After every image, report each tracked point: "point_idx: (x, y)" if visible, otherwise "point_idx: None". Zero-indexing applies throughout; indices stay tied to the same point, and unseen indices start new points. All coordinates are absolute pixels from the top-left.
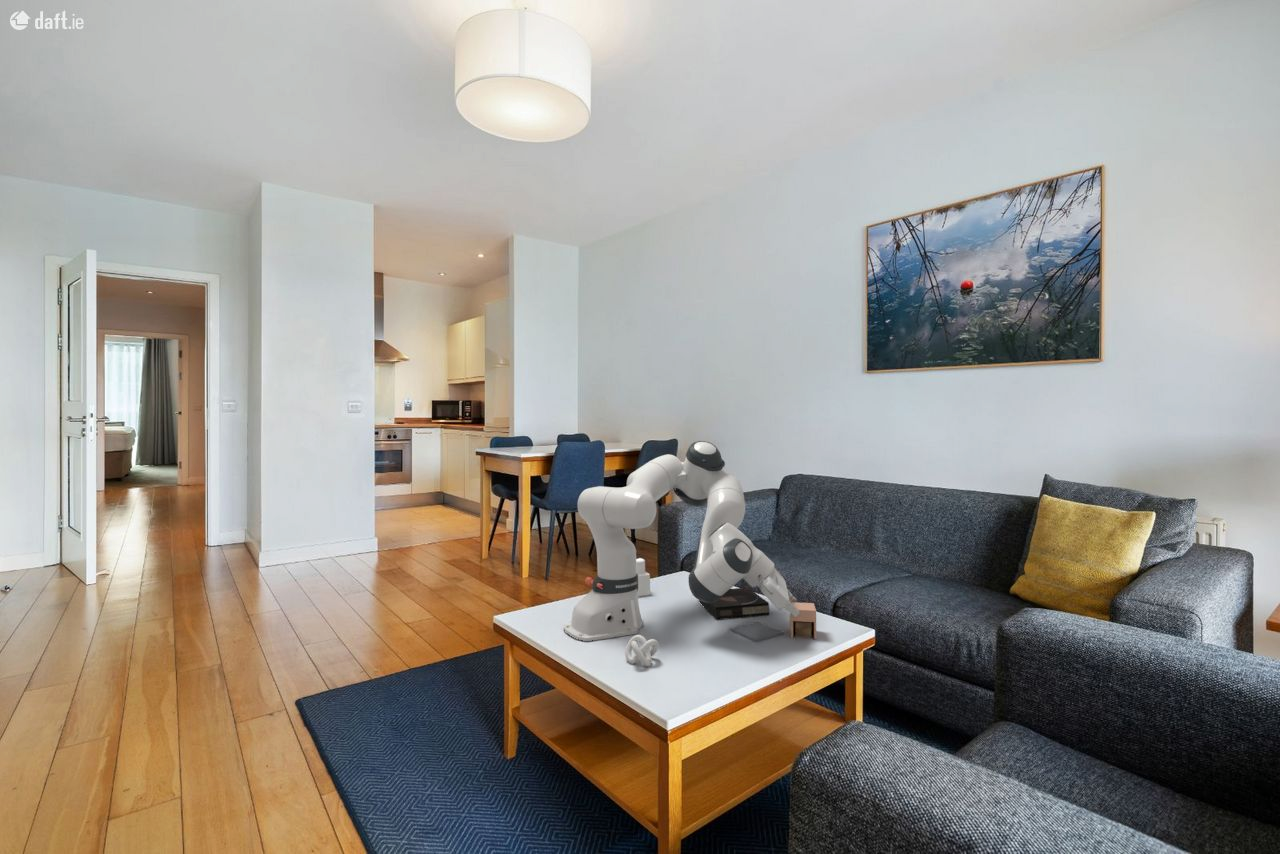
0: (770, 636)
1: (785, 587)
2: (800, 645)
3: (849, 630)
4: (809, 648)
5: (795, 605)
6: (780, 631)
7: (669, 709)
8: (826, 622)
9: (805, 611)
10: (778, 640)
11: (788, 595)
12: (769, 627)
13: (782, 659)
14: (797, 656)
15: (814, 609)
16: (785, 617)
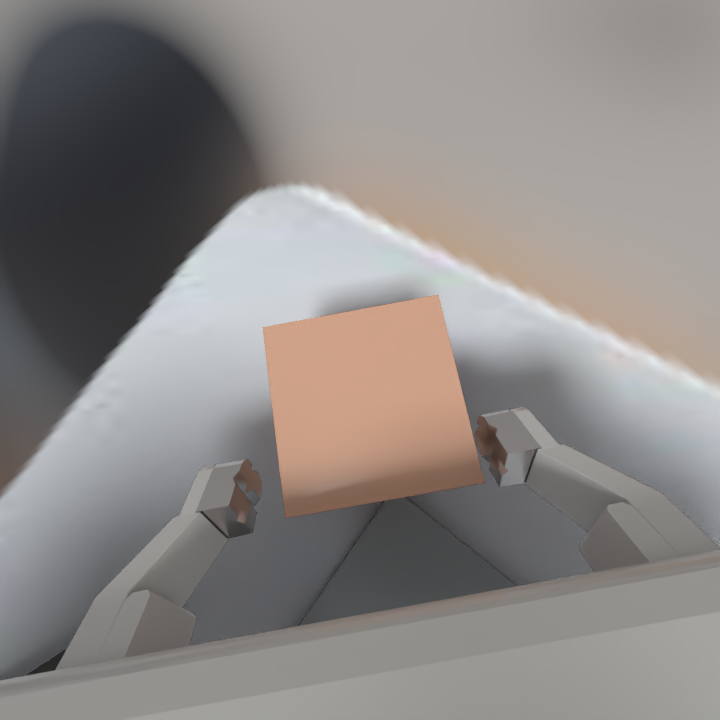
0: (468, 549)
1: (314, 708)
2: (505, 399)
3: (269, 234)
4: (524, 360)
5: (361, 457)
6: (391, 508)
7: None
8: (196, 322)
9: (455, 369)
10: (484, 502)
11: (616, 580)
12: (352, 573)
13: (699, 455)
14: (634, 398)
15: (412, 308)
16: (163, 508)
